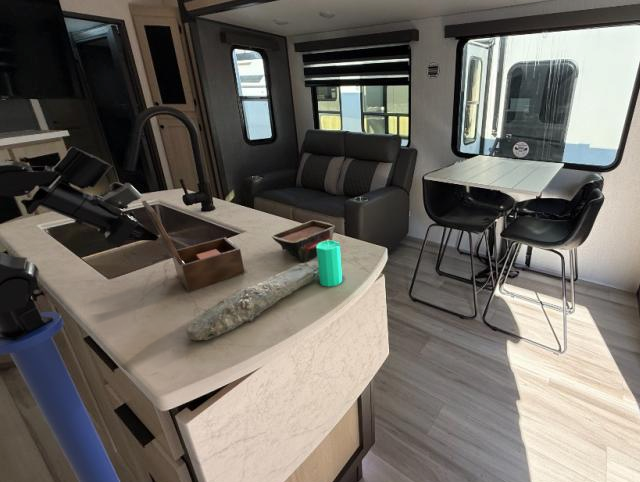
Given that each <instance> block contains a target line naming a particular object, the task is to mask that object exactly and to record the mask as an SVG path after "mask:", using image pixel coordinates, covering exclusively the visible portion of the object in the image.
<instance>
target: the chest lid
mask: <svg viewBox="0 0 640 482" xmlns="http://www.w3.org/2000/svg"><path fill="white" fill-rule="evenodd" d="M141 204H142V206H143V207H144V209H145V211H146V212H147V214H148V216H149V218H150V220H151V221H152V223H153V225H154V227H155V229H156V231H157V232H158V234H159V236H160V238H161V240H162V242H163V243H164V245H165V247H166V249H167V251H168V252H169V253H170V255H171V257H172V256H173V257H174V258H175V260H176V261H177V262H178V264H179V265H181V264H183V262H182V260H181V258H180V257H179V255H178V253H177V251H176V250H177V249H176V248H175V245H174V244H173V242H172V240H171V238H170V236H169V235H168V232H167V231H166V229H165V227H164V226H163V223H162V222H161V220H160V218H159V216H158V214H157V213H156V210H154V208H153V207H152V206H151V205H150V204H149V203H148V202H147V200H142V201H141Z"/></svg>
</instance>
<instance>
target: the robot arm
mask: <svg viewBox="0 0 640 482" xmlns="http://www.w3.org/2000/svg"><path fill="white" fill-rule="evenodd" d="M112 167H113V165H112V164H110V163H108V162H107V161H105V160H103V159H102V158H100V157H98V156H96V155H94V154H92V153H91V154H90V153H88V152H86V151H83V150H82V149H79V148H77V147H75V146H73V145H72V146H70V147H69V148H68V150H67V151H66V153H65V154H64V156H63V157H62V158H61V159H60V160H59V161H58V162H57V163H56V165H29V164H27V163H25V162H22V161H16V160H5V161H0V196H1V197H12V198H13V197H14V198H15V197H17V198H18V197H23V196H25V195H28V194H30V193H31V192H33V191H34V190H35V188H36V187H39V188H37V190H36V191H35V192H34V194H32V195H31V197H23V198H21V199H20V203H21V204H22V205H23V206H24V208H25V211H26V214H27V215H32V214H34V212H35V211H37V209H38V208H39V207H41V208H43V209H46V210H49V211H51V212H53V213H56V214H58V215H61V216H64V217H66V218H69V219H71V220H74V223H76V224H78V225H82V224H85V225H87V226H89V227H92V228H95V229H97V231H98V232H99V233H101V234H104V236H105V239H106V241H107V244H108V245H111V246H113V247H115V248H118V249H119V248H121V247H122V245H123V244H124V243H125V242H126V241H147V242H149V241H151V242H156V241H157V240H158V239H159V236H158V235H157V234H156V233H155V232H153V231H152V230H150V229H148V228H147V227H146V226H145V225H143V224H141V223H140V222H139V219H138V217H137V216H136V214H135V213H134V211H132V210H131V211H129V213H128V214H126V213H123V212H124V211H125V210H127V209H128V208H129V205H130V204H132V203H133V202H135V201H138V200H140V199H141V198H142V197H143V195H142V194H141V193H140V192H139V191H138V190H137V189H136V188H135V187H134V186H133V185H132V184H131V183H130V182H124V184H123V183H121V182H118V181H115V182H113V183H111V184H110V185H109V188H110V190H111V191H109V192H107V194H105V195H103V196H101V195H98V194H89V193H87V192H85V191H82V190H84V189H87V188H89V187H90V188H95V187H96V185H97V184H98V183H99V182H100V181H101V180H102V178H103V177H104V176H105V175H106V174H107V172H108V171H109V170H110V169H111V168H112ZM57 176H58V177H57ZM56 177H57V178H56ZM55 178H56V179H55ZM54 179H55V180H54ZM53 180H54V181H53ZM52 181H53V182H52ZM62 181H64V182H67V183H68V184H66V183H64V182H62ZM51 182H52V183H51ZM49 183H51V184H50V185H49V186H44V185H45V184H49ZM69 184H70V185H69ZM71 185H72V186H71ZM73 186H75V187H73ZM76 187H77V188H76ZM78 188H80V189H82V190H80V189H78ZM124 209H125V210H124ZM39 278H40V271H39V268H38V266H37V265H36V264H35V263H33V262H31V261H28V257H27V256H26V257H20V256H19V257H18V256H14V255H10V254H7V253H5V252H1V251H0V339H6V340H18V339H20V338H22V337H23V336H25V335H27V334H29V333H31V332H33V331H34V330H36V329H38V328H40V327H42V326H44V325H45V324H47V323H49V322H51V321H53V320H54V319H53V318H52V317H44V316H41V314H40V313H41V312H40V310H39V308H38V307H37V304H36V301H35V299H34V298H33V296H32V294H33V293H34V292H35V291H36V290H37V288H38V286H39Z"/></svg>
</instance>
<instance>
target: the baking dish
mask: <svg viewBox="0 0 640 482" xmlns="http://www.w3.org/2000/svg"><path fill="white" fill-rule="evenodd" d="M335 230H336V225H334V224H332V223H329V222H325V221H321V220H315V219H314V220H309V221H307V222H304V223H301V224H299V225H296V226H293V227H291V228H288V229H285V230H283V231H280V232H277V233H274V234H272V235H271V238H272V239H273V240H274V242H276V243H277V244H278V245H280V246H281V249H282V251H286V252H287V253H289V254H290V255H291V256H292V257H293V258H294V259H295V260H297V261H298V262H300V263H306V262H310V261H312V260H313V259H315V258H317V249H316V246H317V245H318V244H319V243H320V242H323V241H327V239H328V240H332V241H333V236H334V232H335Z"/></svg>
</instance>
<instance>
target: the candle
mask: <svg viewBox="0 0 640 482" xmlns="http://www.w3.org/2000/svg"><path fill="white" fill-rule="evenodd" d="M340 245H341V244H340V242H339V241H335V240H333V239H332V240H328V239H327V241H323V242H320V243H319V244H318V245H317V246H316V249H317V257H316V258H317V261H318V269H319V276H318V279H319V284H320V285H321V286H322V287H329V288H330V287H335V286H338V285H341V283H342V281H343V273H342V271H343V270H342V258H341V257H342V256H341V246H340Z"/></svg>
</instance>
